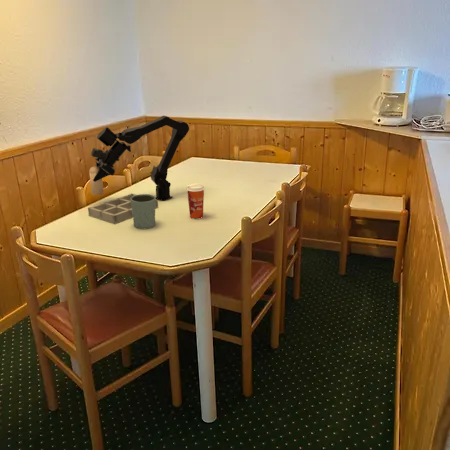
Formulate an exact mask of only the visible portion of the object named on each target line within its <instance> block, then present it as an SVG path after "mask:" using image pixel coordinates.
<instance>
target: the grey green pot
mask: <svg viewBox="0 0 450 450" xmlns="http://www.w3.org/2000/svg"><path fill="white" fill-rule="evenodd" d="M156 197H157V196H156V195H153V194H150V193H149V194H148V193H147V194H146V193H142V194H135V196H132V197H131V198H130V200H131V206H132V212H133V217H132V218H133V219H132V220H133V226H134V228H135V229H139V230H142V229H143V230H145V229H146V230H147V229H151V228H153V227H154V226H155V225H156V209H155V202H156V200H157V199H156Z"/></svg>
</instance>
